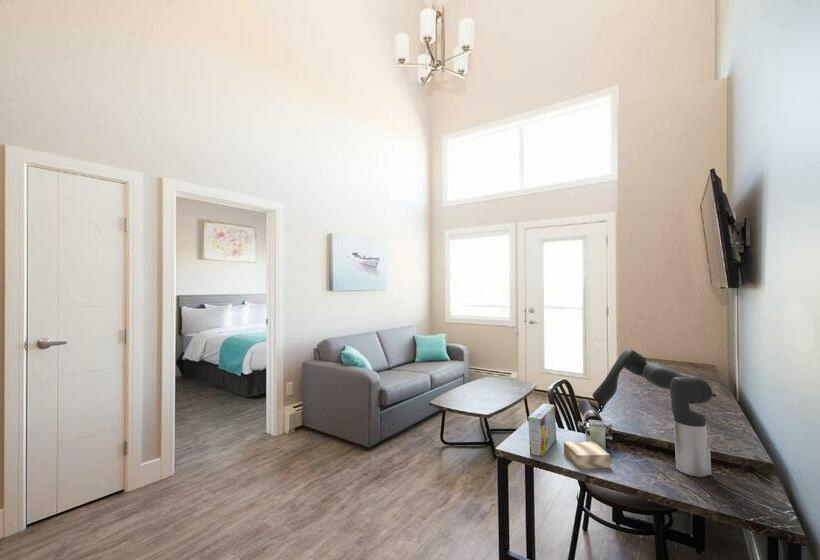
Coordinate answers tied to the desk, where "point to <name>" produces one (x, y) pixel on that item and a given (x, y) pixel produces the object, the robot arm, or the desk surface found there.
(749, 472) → the desk surface
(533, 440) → the snack box
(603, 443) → the tea tin
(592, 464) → the birch block
